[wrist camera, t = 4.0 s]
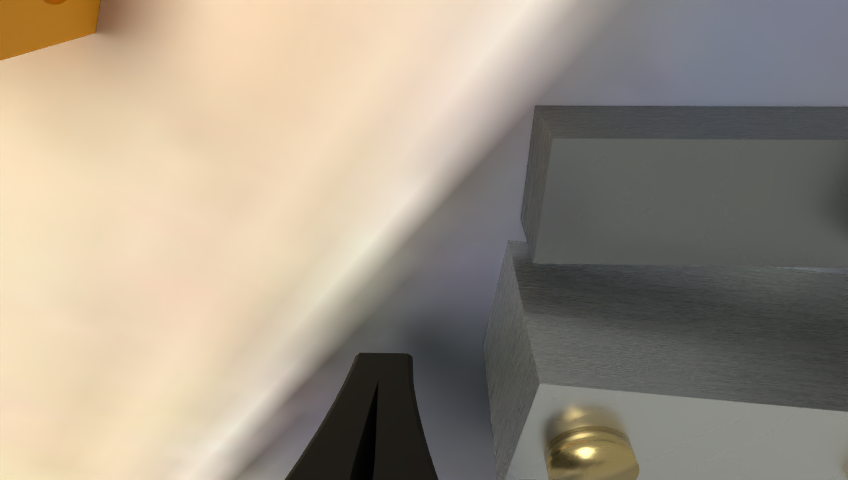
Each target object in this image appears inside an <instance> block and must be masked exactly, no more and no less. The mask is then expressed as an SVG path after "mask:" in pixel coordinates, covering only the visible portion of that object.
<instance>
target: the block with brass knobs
mask: <svg viewBox="0 0 848 480" xmlns="http://www.w3.org/2000/svg"><path fill="white" fill-rule="evenodd" d="M483 347H484V356H485V366H486V375H487V385H488V394H489V404H490V414H491V423H492V433H493V442H494V452H495V461H496V471H497V480H848V275H844V274H834V273H824V272H814V271H804V270H795V269H785V268H775V267H761V266H684V265H607V264H533V260H532V257H531V253H530V250H529V246H528V243H527V242H520V241H510V240H508V243H507V247H506V251H505V255H504V259H503V264H502V268H501V272H500V276H499V280H498V284H497V288H496V292H495V296H494V300H493V304H492V309H491V313H490V317H489V321H488V325H487V329H486V333H485V337H484V341H483Z"/></svg>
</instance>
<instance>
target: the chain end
mask: <svg viewBox="0 0 848 480" xmlns="http://www.w3.org/2000/svg"><path fill="white" fill-rule="evenodd" d="M521 221H522V225H523V228H524V232H525V235H526V239H527V243H528V246H529V250H530V253H531V257H532V260H533V264H607V265H684V266H761V267H838V268H848V107H654V106H535V112H534V119H533V127H532V135H531V143H530V151H529V158H528V166H527V174H526V182H525V190H524V197H523V205H522V213H521Z"/></svg>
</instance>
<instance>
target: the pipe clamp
mask: <svg viewBox="0 0 848 480" xmlns="http://www.w3.org/2000/svg"><path fill="white" fill-rule="evenodd" d="M100 1H101V0H0V60H4V59H7V58H11V57H14V56H17V55H21V54H24V53H28V52H31V51H35V50H38V49H42V48H45V47H48V46H52V45H55V44H59V43H62V42H66V41H69V40H73V39H76V38H79V37H83V36H86V35H90V34H93V33H95V32H96V26H97V20H98V13H99V7H100Z"/></svg>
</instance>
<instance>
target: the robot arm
mask: <svg viewBox="0 0 848 480" xmlns="http://www.w3.org/2000/svg"><path fill="white" fill-rule="evenodd" d="M285 480H438V477H437V474H436V471H435V468H434V465H433V462H432V459H431V456H430V453H429V449H428V446H427V443H426V439H425V436H424V432H423V428H422V424H421V420H420V416H419V412H418V407H417V402H416V396H415V391H414V384H413V357H412V356H411V355H409V354H404V353H359V354H358V355H356V357H355V359H354V362H353V364H352V367H351V369H350V371H349V373H348V375H347V377H346V380H345V382H344V384H343V386H342V388H341V389H340V391H339V393H338V395H337V397H336V399H335V401H334V403H333V404H332V406H331V408H330V410H329V411H328V413H327V415H326V417H325V418H324V420H323V422H322V424H321V425H320V427H319V429H318V430H317V432H316V434H315V435H314V437H313V438H312V440H311V441H310V443H309V444H308V446H307V448H306V449H305V451H304V452H303V454H302V455H301V457H300V458H299V460H298V461H297V463H296V464H295V466H294V467H293V469H292V470H291V472H290V473H289V474H288V476H287V477H286V479H285Z"/></svg>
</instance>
